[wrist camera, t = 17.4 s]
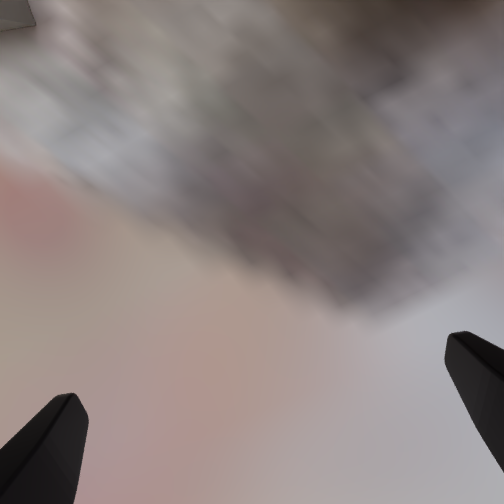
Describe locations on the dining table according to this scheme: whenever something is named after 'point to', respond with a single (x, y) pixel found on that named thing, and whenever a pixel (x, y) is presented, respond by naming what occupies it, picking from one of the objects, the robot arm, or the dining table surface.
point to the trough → (15, 14)
